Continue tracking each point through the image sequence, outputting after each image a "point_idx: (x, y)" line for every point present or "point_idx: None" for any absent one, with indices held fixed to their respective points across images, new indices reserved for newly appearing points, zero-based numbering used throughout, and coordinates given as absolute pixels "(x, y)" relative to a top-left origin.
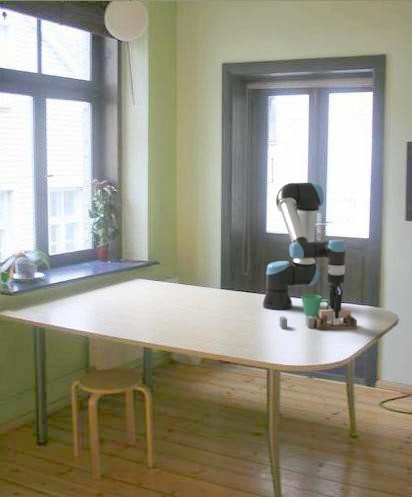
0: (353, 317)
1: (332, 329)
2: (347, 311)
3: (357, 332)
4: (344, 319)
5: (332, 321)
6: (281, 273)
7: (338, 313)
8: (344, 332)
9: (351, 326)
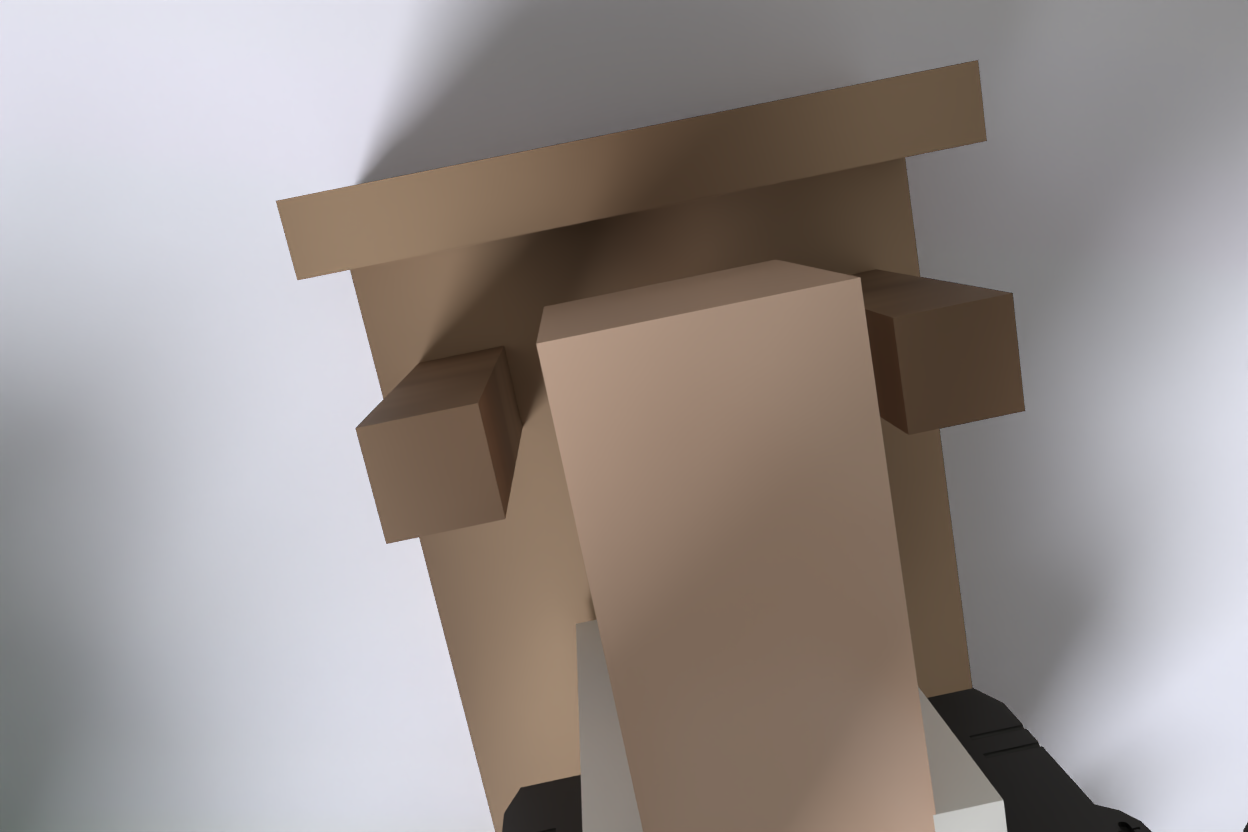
0: (580, 141)
1: None
2: (869, 441)
3: (1204, 117)
4: (510, 429)
5: None
6: None
7: (1081, 796)
8: (1191, 440)
9: (899, 243)
